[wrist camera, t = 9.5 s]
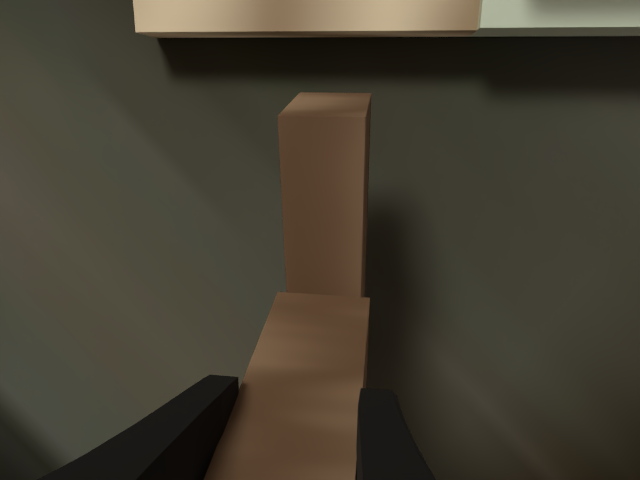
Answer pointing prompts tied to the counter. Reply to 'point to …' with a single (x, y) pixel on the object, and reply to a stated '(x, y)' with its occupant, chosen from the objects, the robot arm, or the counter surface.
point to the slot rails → (305, 18)
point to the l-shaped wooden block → (310, 307)
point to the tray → (558, 18)
